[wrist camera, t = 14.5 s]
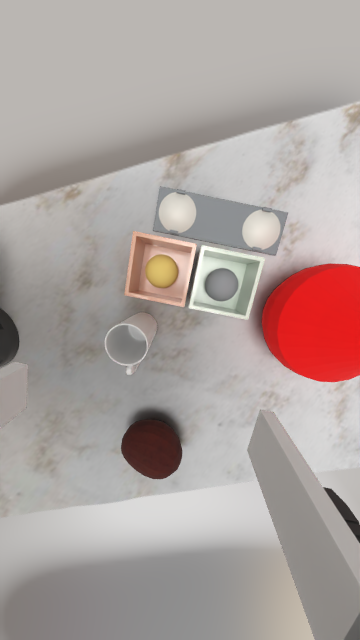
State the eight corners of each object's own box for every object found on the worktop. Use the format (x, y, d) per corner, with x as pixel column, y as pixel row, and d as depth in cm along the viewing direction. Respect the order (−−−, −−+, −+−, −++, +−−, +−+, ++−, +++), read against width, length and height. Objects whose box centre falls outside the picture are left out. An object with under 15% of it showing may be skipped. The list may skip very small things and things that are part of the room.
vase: (262, 366, 43) (424, 554, 14) (237, 286, 39) (380, 308, 10) (348, 339, 41) (748, 488, 12) (329, 253, 38) (823, 163, 8)
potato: (140, 398, 45) (126, 432, 35) (191, 420, 46) (192, 461, 36) (122, 435, 48) (104, 477, 37) (171, 456, 48) (167, 503, 38)
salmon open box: (135, 292, 40) (124, 295, 33) (143, 240, 38) (133, 231, 31) (184, 301, 40) (184, 307, 33) (194, 250, 38) (196, 244, 31)
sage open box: (188, 302, 40) (188, 308, 33) (198, 251, 38) (201, 245, 31) (236, 312, 41) (247, 320, 33) (249, 262, 38) (265, 258, 31)
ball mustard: (146, 284, 39) (139, 285, 34) (151, 253, 38) (144, 249, 32) (176, 290, 39) (173, 292, 34) (182, 259, 38) (180, 256, 32)
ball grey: (200, 294, 40) (203, 300, 34) (207, 264, 38) (211, 265, 32) (229, 300, 40) (236, 307, 34) (237, 270, 38) (247, 272, 32)
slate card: (153, 230, 38) (152, 229, 37) (160, 187, 36) (159, 184, 35) (275, 255, 38) (277, 254, 37) (287, 213, 36) (289, 211, 35)
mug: (127, 309, 41) (103, 322, 29) (159, 311, 41) (148, 324, 29) (127, 355, 43) (105, 383, 32) (157, 356, 43) (147, 386, 31)
